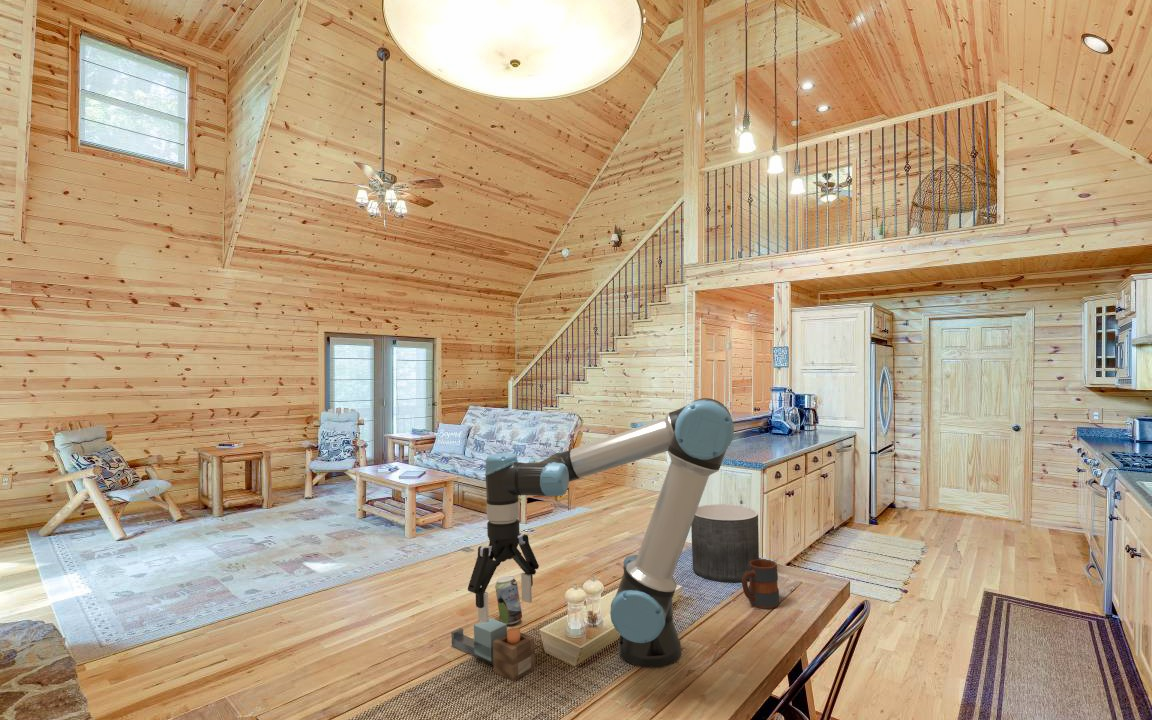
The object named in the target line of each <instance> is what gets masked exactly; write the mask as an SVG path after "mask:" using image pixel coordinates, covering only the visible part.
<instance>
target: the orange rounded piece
mask: <svg viewBox="0 0 1152 720" xmlns="http://www.w3.org/2000/svg"><path fill="white" fill-rule="evenodd" d="M520 633H521V630H520V628H518V627H513V628H512V627H511V628H509V629H507V644H510V645H512V646H513V645H514V644H516V643H518V642H520Z"/></svg>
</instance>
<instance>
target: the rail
mask: <svg viewBox="0 0 1152 720" xmlns="http://www.w3.org/2000/svg"><path fill="white" fill-rule="evenodd" d="M450 634H451V635H450V637H451V647H453V648H456V649H458V650H460V651H462V652H463V653H466V654H468V655H471V656H472V657H475V658H477V659H479V660H481V661H484V662H486V663H487V664H490V665H492V666H493V661H489V660H487V659H485V658H483V657H481V656H478V655H476V654H474V638H473V637H469V636H467V635H465V634H464V628H462V627H459V628H457V629H455V630H453V631H451V633H450Z"/></svg>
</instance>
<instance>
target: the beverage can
mask: <svg viewBox="0 0 1152 720" xmlns="http://www.w3.org/2000/svg"><path fill="white" fill-rule="evenodd" d="M494 589H495V593H496V602H497V607H498V614H499V620H500V622H503V623H505V624H507V625H513V624H516V623H518V622H520V620H521V619H522V618H523V612H522V607H521V600H520V599H521V598H520V593H519V588H518V581H517V580H516V578H515V577H514V576H513V575H512V576H511V575H508V576H503V577H501V578H498V579H497V580H496V583H495V587H494Z"/></svg>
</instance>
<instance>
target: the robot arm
mask: <svg viewBox="0 0 1152 720" xmlns="http://www.w3.org/2000/svg"><path fill="white" fill-rule="evenodd" d="M734 427H735V425H734V421H733V418H732V415H731V413H730V411H729V410H728V408H727V406H725V405H724V404H723V403H722V402H720V401H719V400H716V399H714V398H706V397H704V398H699V399H698V398H697V399H695V400H692V401H691V402H690V403H688V404H687V405H685V406H683V407H680V408H679V409H675V410H672V411H669V412H668V413H667V415H665V418H663V419H659V420H656V421H653V422H650V423H647V424H645V425H641V426H638V427H635V428H633V429H629V430H625V431H622V432H621V433H617V434H614V435H613V434H612V435H610V436H607V437H605V438H602V439H599V440H596V441H595V440H594V441H593V442H589V443H586V444H584V445H581V446H578V447H574V448H572V449H569V450H566V451H562V452H556V453H554V454H551V455H550V456H548V457H547V458H545V459H543V460H541V461H539V462H520V461H519V460H518V456H517V454H515V453H510V452H502V453H500V452H499V453H493V454H490V455H488V456H487V457H486V459H485V474H484V476H485V491H486V519H487V521H488V522H487V523H486V525H487V528H486V529H487V538H488V540H489V544H488V546H482V545H481V546H478V547H477V557H476V560H475V564H474V567H473V571H472V573H471V577H470V579H469V583H468V585H467V591H468V592H470V593H472V594H475V607H476V608H477V610H478V611H477V614H478V615H477V616H478V617H477V618H478V621H479V622H482V621H483V622H485V623H487V622H489V618H490V615H489V592H488V591H486V590H487V588H488V586H489V584H490V582H491V580H492V578H493V576H494V574H495V572H496V570H497V568H498V567H499V566H500V565H501V563H503V562H506V561H507V560H514V562H515V563H516V565H518V566H519V568H520V569H521V570H522V571H523V572H521V573H520V580H521V581H520V583H521V584H520V585H521V601H523V602H525V603H529V604H531V603H533V599H532V598H533V597H532V596H533V595H532V593H533V592H532V591H533V590H532V587H533V581H534V580H533V579H534V578H533V576H534V575H536V573H537V571H536V570H538V569H539V567H540V565H539V563H538V560H537V559H536V558H537V557H536V556H535V554H534V551H533V549H532V547H531V545H530V542H529V535H528V534H524V533H520V520H519V518H520V509H519V507H520V504H519V503H520V502H519V496H533V497H535V496H536V497H537V496H539V497H549V498H550V497H558V496H560V497H561V496H564V495H565V494H566V493H567V491H568V489H569V485H570V484H569V483H570V482H573V481H576V480H579V479H582V478H584V477H588V476H592V475H594V474H598V473H601V472H605V471H607V470H608V471H609V470H611V469H613V468H618V467H620V466H623V465H627V464H630V463H632V462H636V461H640V460H643V459H646V458H649V457H651V456H656V455H658V454H662V453H666V452H667V453H668V454H667V455H669V458H670V464H669V466H668V469H667V471H666V474H665V478H664V481H663V483H662V486H661V489H660V492H659V495H658V497H657V499H656V503H655V506H654V508H653V511H652V514H651V516H650V519H649V523H648V525H647V528H646V530H645V534H644V536H643V539H642V542H641V545H640V548H639V550H638V553H637V554H632V555H628V556H627V557H625V558H624V560H623V566H622V569H623V575H622V578H621V580H620V583H619V586H618V588H617V591H616V594H615V595H614V597H613V599H612V601H611V604H610V609H609V610H610V611H609V615H610V616H609V617H610V620H611V623H612V624H613V627H614V629H615V630H616V632H617V634H619V639H618V646H617V647H618V655H619V656H620V658H621V659H622V660H623V661H625V662H626V663H628V664H631V665H633V666H636V667H643V668H653V669H654V668H655V669H656V668H663V667H667V666H670V665H673V664H675V663H676V662H678V661H679V660H680V658H681V656H682V643H681V641H680V639H679V635H678V631H677V629H676V626H675V623H674V618H673V617H674V616H673V615H674V614H673V613H674V611H673V610H674V609H673V598H674V595H675V593H676V589H677V587H678V586H677V583H676V580H675V579H674V574H675V572H676V568H677V566H678V563H679V560H680V557H681V554H682V552H683V549H684V546H685V543H686V540H687V538H688V535H689V533H690V529H691V525H692V522H693V519H694V516H695V514H696V511H697V508H698V506H700V502H701V500H702V497H703V495H704V491H705V488H706V486H707V482H708V480H709V478H710V476H711V475H712V474H713V475H714V474H715V473H717V472H719V470H720V468H721V466H722V463H723V461H724V458H725V455H726V452H727V450H728V449H729V447H730V445H731V444H732V441H733V438H734V435H735V429H734ZM518 547H519V549H520V550H521V551H520V550H519V549H518Z"/></svg>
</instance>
